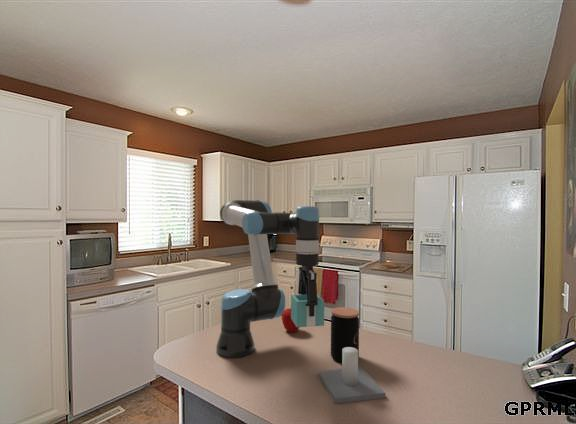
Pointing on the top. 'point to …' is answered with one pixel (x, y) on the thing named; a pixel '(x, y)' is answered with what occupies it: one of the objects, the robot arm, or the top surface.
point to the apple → (288, 321)
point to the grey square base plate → (350, 380)
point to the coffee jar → (344, 331)
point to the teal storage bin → (305, 310)
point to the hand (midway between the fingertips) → (307, 321)
